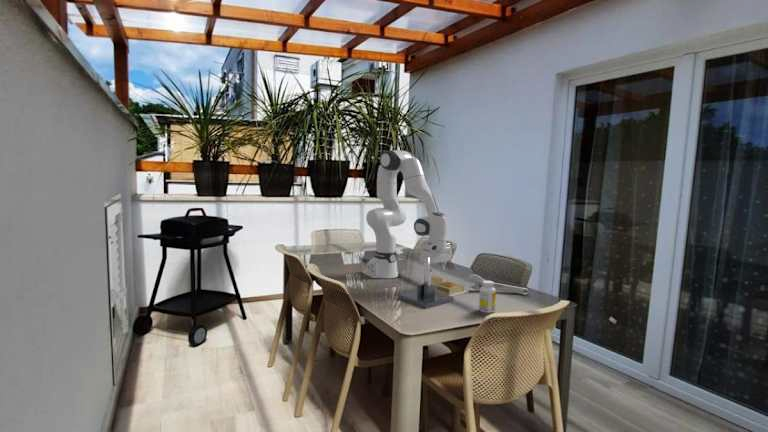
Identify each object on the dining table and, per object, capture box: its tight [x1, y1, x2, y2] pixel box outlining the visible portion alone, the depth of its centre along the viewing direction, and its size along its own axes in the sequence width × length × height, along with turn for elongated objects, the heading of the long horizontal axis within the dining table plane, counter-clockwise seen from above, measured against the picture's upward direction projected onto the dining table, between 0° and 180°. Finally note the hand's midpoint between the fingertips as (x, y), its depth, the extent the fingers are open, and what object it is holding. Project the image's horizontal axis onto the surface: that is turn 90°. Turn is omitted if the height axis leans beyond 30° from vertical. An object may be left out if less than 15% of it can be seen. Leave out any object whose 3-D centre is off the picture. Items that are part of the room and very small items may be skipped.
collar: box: [430, 275, 465, 295], centre depth 210 cm, size 16×11×5 cm
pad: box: [437, 289, 469, 297], centre depth 209 cm, size 16×16×1 cm
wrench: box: [467, 273, 530, 295], centre depth 210 cm, size 8×2×30 cm
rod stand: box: [398, 257, 455, 309], centre depth 194 cm, size 18×18×20 cm
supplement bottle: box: [478, 280, 497, 314], centre depth 180 cm, size 7×7×13 cm
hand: (435, 271), depth 214 cm, fingers open, 8 cm apart
